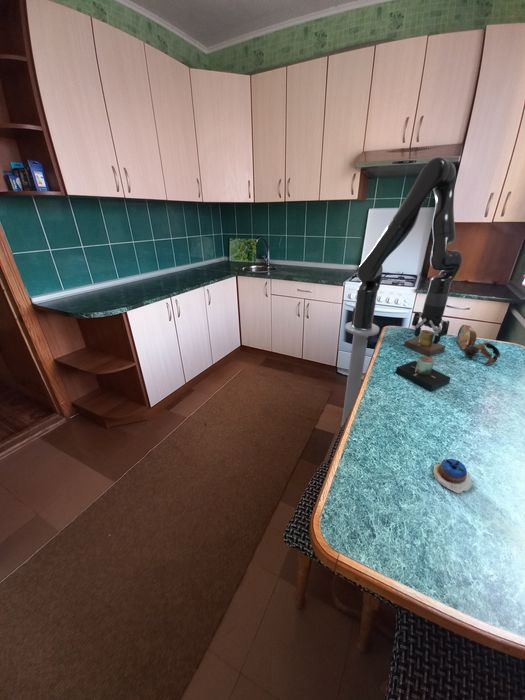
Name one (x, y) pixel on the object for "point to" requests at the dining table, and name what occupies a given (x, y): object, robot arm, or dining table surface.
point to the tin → (466, 336)
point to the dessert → (453, 475)
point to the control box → (423, 377)
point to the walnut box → (424, 347)
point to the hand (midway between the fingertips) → (425, 339)
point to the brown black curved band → (483, 352)
